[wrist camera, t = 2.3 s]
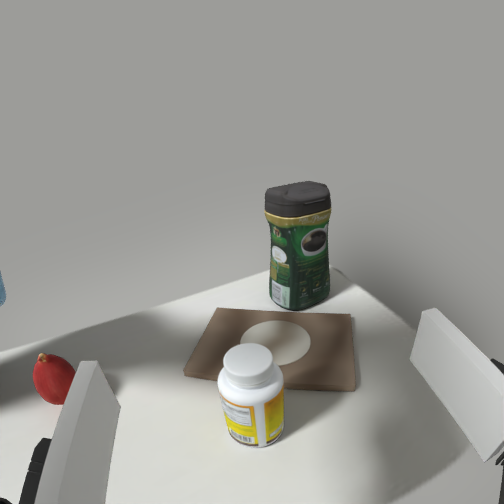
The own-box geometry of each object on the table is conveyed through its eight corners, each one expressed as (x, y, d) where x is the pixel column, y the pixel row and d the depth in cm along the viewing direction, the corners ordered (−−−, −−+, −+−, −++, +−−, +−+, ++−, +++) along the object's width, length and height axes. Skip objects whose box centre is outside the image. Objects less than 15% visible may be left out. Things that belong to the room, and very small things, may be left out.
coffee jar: (306, 278, 56) (305, 175, 48) (336, 296, 49) (341, 183, 42) (261, 296, 51) (253, 184, 44) (289, 318, 45) (287, 192, 38)
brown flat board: (184, 375, 35) (182, 369, 35) (218, 312, 48) (217, 306, 47) (354, 391, 31) (355, 384, 30) (349, 319, 43) (350, 312, 43)
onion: (46, 393, 30) (19, 347, 27) (81, 379, 34) (58, 331, 30) (54, 423, 26) (21, 376, 23) (93, 408, 29) (65, 358, 26)
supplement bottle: (277, 404, 30) (276, 332, 26) (288, 445, 25) (290, 376, 21) (226, 411, 30) (211, 340, 26) (230, 453, 25) (214, 387, 21)
